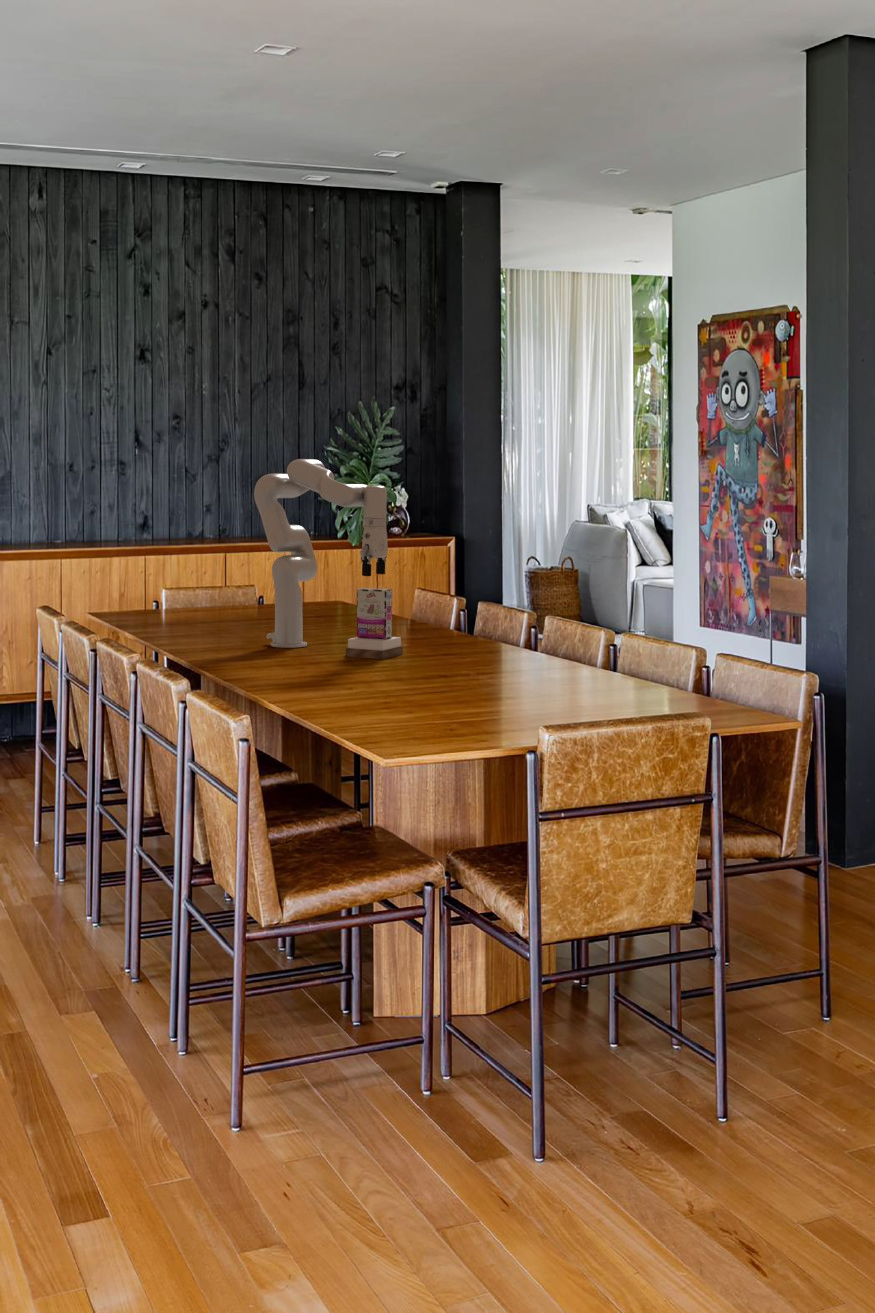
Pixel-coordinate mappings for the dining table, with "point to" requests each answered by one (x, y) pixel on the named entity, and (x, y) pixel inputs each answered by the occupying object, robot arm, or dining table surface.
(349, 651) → the walnut base block
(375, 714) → the dining table surface
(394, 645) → the cream top block
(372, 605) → the candy bar box
